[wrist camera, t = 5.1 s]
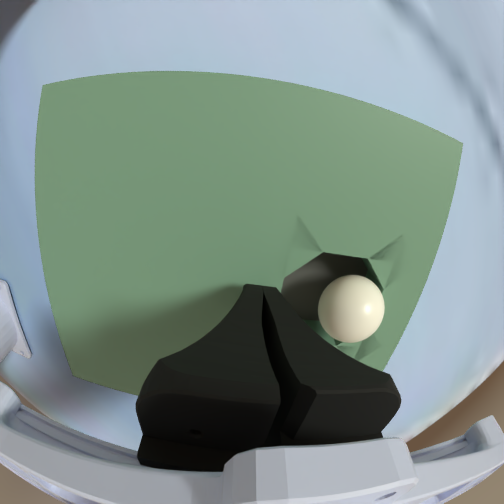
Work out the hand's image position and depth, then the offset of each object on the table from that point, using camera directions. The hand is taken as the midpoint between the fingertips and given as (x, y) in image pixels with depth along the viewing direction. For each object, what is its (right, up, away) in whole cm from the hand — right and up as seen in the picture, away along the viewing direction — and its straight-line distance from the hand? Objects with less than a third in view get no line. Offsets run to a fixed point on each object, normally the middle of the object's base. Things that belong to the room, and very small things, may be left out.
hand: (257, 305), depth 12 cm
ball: (+4, 0, +1) cm, 5 cm away
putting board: (-1, +1, +3) cm, 4 cm away
